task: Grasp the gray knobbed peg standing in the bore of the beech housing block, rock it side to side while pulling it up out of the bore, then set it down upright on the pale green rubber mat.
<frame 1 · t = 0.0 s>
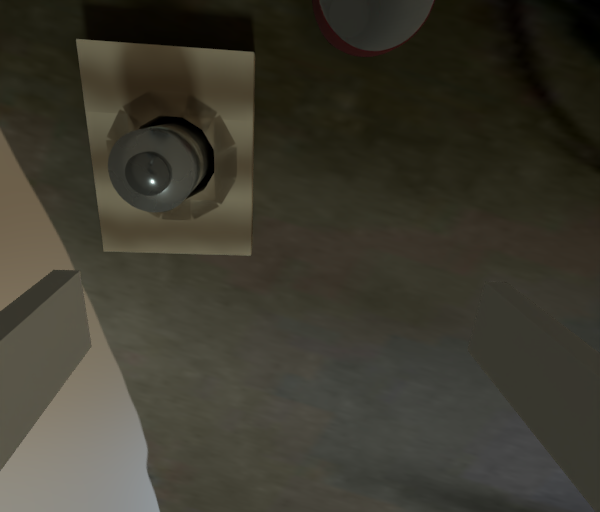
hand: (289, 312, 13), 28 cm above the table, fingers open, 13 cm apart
housing: (180, 155, 38), on the table
gray knobbed peg: (166, 163, 33), in the housing
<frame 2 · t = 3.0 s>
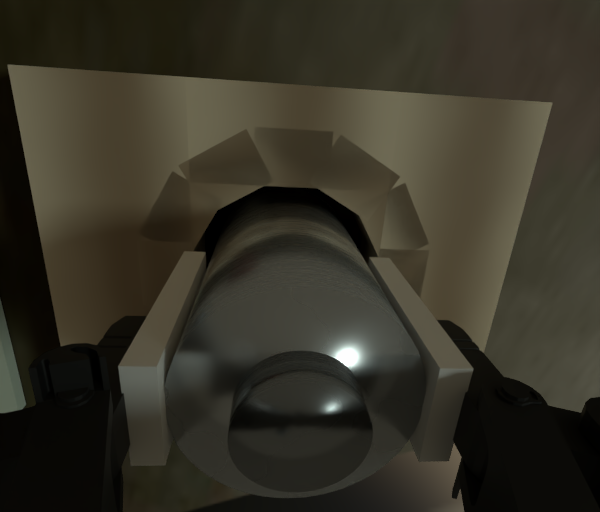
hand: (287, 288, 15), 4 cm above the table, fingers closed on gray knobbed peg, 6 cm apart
housing: (283, 250, 18), on the table
gray knobbed peg: (289, 309, 13), in the housing, touching gripper
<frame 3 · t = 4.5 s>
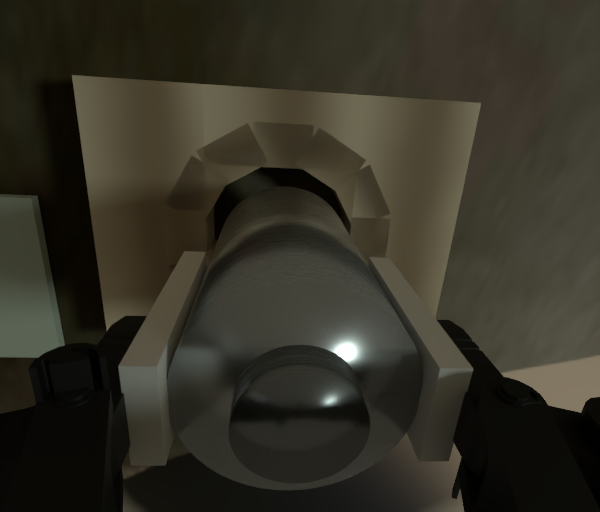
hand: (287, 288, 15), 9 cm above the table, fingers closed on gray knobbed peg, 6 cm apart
housing: (278, 223, 23), on the table
gray knobbed peg: (288, 306, 13), point 10 cm above the table, touching gripper
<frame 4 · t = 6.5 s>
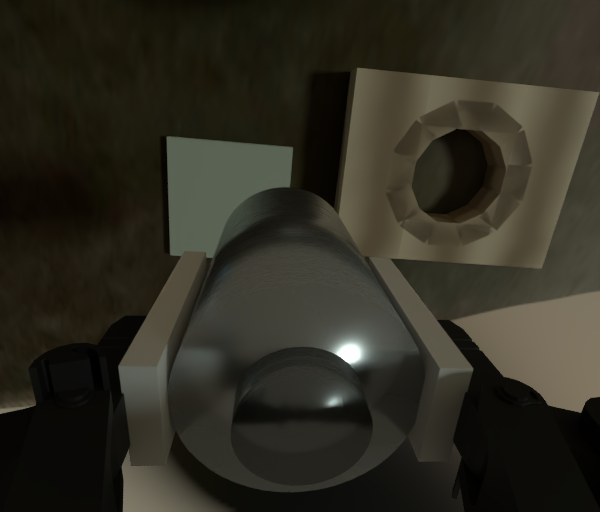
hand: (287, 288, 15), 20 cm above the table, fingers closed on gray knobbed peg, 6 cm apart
housing: (443, 172, 33), on the table
gray knobbed peg: (290, 307, 13), point 21 cm above the table, touching gripper
mat: (229, 202, 34), on the table
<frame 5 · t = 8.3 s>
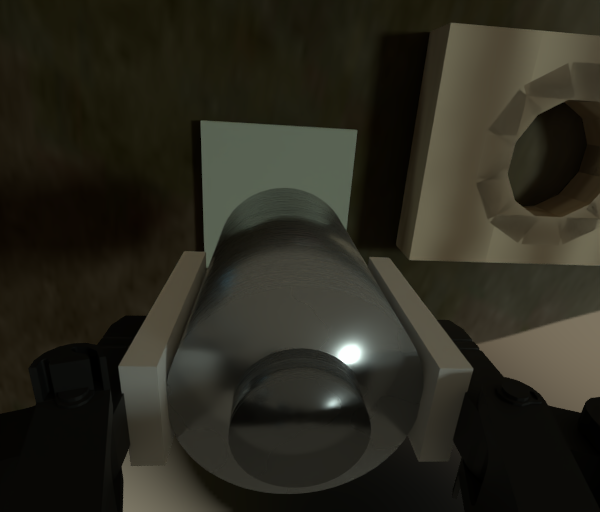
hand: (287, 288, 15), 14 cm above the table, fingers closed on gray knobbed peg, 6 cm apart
housing: (535, 155, 28), on the table
gray knobbed peg: (288, 308, 13), point 15 cm above the table, touching gripper
mat: (277, 200, 27), on the table
when the fingers open (6 cm above the table, at t = 10.0 s): gray knobbed peg drops 1 cm, resting on mat.
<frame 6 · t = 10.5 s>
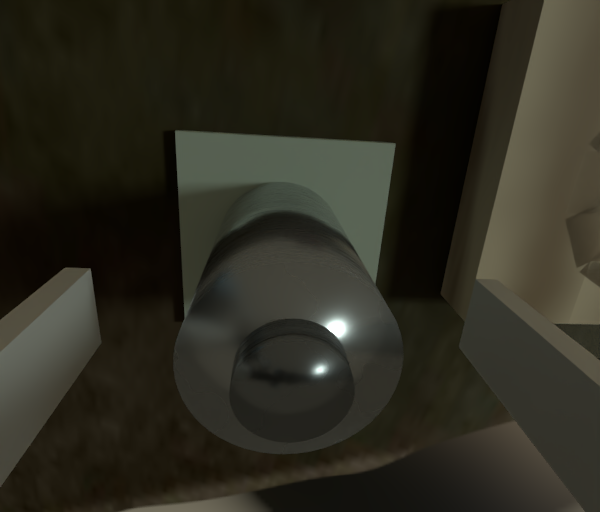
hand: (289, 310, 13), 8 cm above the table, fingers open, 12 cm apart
gray knobbed peg: (284, 291, 14), on the mat, point 6 cm above the table
mat: (282, 237, 20), on the table
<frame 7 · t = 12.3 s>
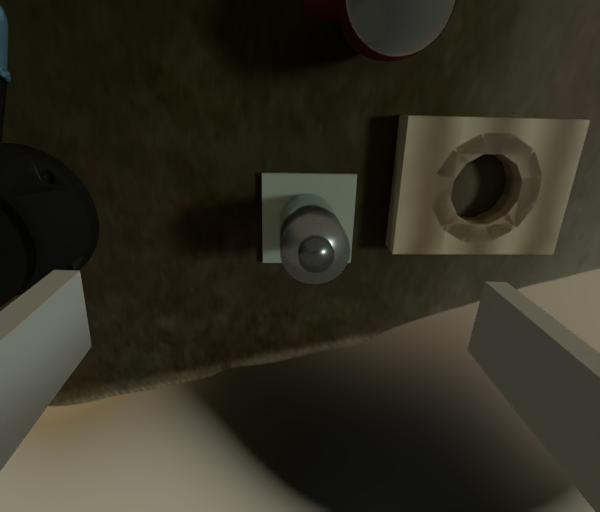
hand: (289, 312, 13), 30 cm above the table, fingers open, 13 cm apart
mug: (356, 23, 37), on the table
housing: (472, 184, 43), on the table
gray knobbed peg: (311, 235, 38), on the mat, point 6 cm above the table
mat: (307, 218, 43), on the table
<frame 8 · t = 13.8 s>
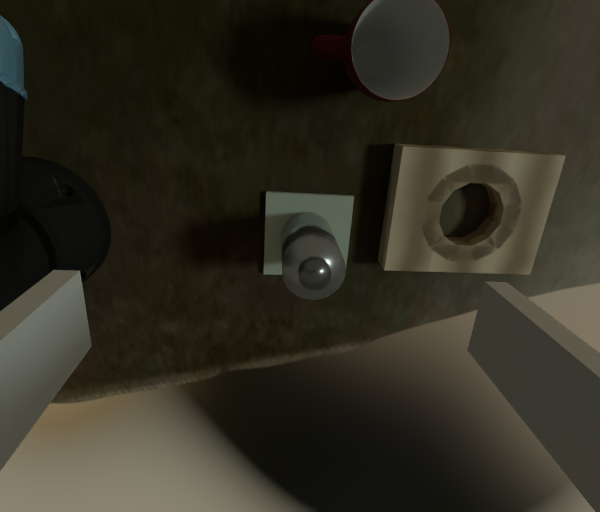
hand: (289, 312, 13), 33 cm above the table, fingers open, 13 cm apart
mug: (358, 59, 40), on the table
housing: (459, 208, 47), on the table
gray knobbed peg: (310, 253, 41), on the mat, point 6 cm above the table
mat: (307, 234, 47), on the table
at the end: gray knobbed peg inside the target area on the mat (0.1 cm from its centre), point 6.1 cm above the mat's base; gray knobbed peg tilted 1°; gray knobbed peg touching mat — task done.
